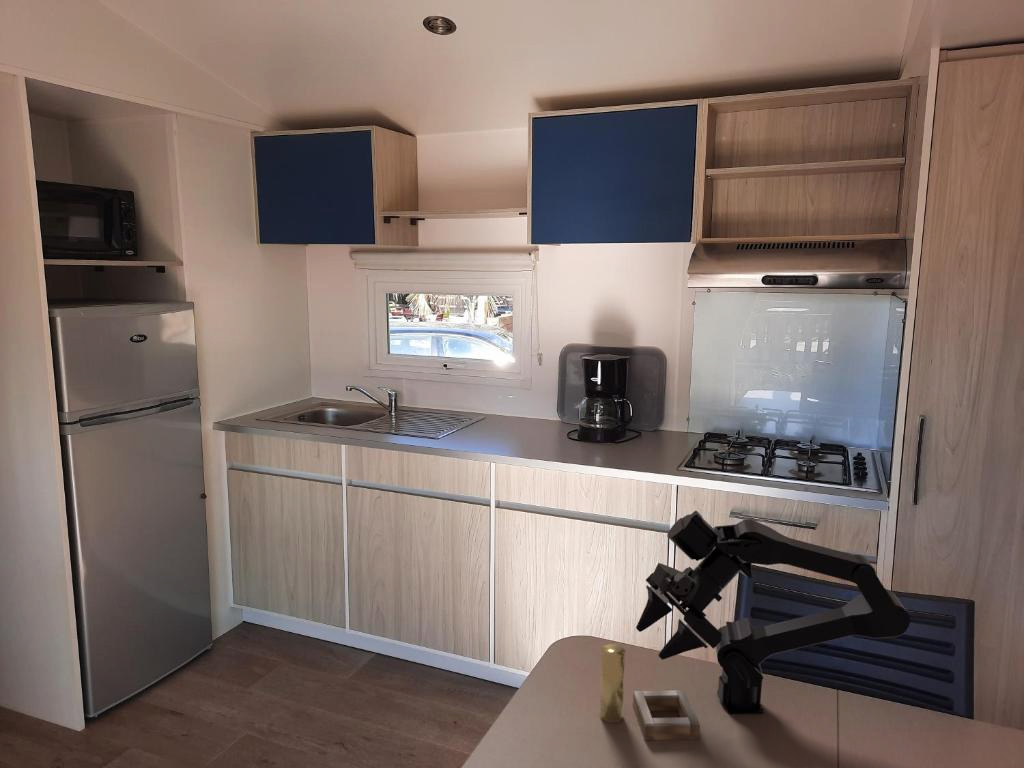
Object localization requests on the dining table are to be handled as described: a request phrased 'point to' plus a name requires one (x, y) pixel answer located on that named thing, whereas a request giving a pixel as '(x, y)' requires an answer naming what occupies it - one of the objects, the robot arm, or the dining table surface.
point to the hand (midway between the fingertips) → (648, 643)
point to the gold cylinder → (612, 683)
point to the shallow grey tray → (665, 727)
